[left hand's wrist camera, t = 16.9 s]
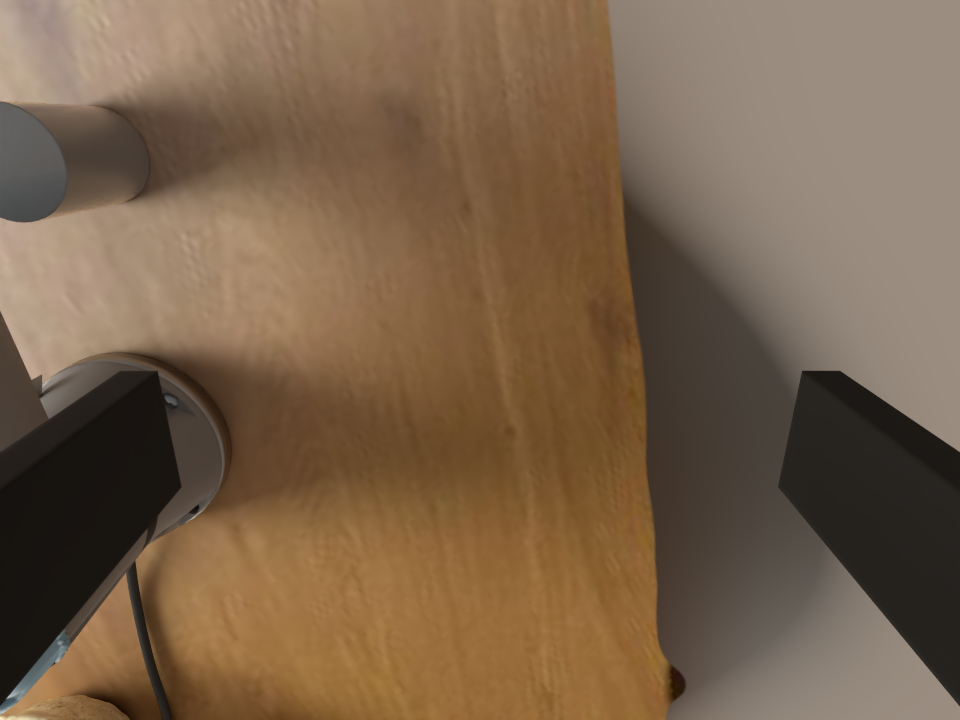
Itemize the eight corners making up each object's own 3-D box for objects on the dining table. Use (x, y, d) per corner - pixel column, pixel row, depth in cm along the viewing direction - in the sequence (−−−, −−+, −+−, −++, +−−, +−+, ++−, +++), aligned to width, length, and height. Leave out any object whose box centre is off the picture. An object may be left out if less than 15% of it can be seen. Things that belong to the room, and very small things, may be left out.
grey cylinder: (158, 204, 43) (79, 222, 34) (67, 204, 43) (-33, 222, 34) (139, 105, 41) (50, 100, 32) (44, 105, 41) (-70, 100, 32)
